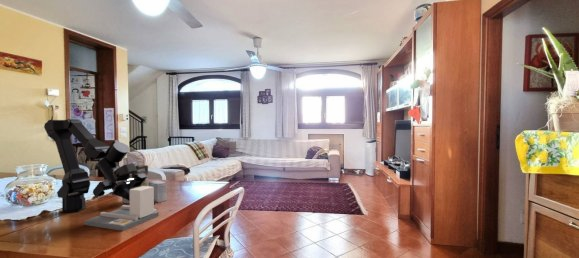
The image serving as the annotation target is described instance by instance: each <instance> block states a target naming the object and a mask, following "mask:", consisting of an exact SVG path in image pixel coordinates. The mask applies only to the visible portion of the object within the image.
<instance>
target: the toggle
mask: <svg viewBox="0 0 579 258" xmlns="http://www.w3.org/2000/svg"><path fill="white" fill-rule="evenodd" d="M154 202H155V201H154V187H150V186H149V185H148V186H141V187H137V188H134V189H130V203H129V206H130V216H137V217H138V218H142V217H145V216H147V215H150V214H152V213H154V209H155V203H154Z"/></svg>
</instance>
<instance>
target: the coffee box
mask: <svg viewBox="0 0 579 258" xmlns="http://www.w3.org/2000/svg"><path fill="white" fill-rule="evenodd" d="M138 166H139V169H138V170H137V171H136V172H133V173H131V176H130V177H129V178H128V179H132V178H133V177H134V175H136V174H141V173H144V174H145V175H146V176H147V178H146V179H145V181H144V182H143V183H142V184H141V185H140V186H138V187H141V186H149V165H146V164H143V165H141V164H140V165H139V164H138ZM135 188H137V187H135ZM121 202H122V203H125V204H130V201H129V200H127V199H125V198H122V197H121Z"/></svg>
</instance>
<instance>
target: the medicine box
mask: <svg viewBox="0 0 579 258" xmlns="http://www.w3.org/2000/svg"><path fill="white" fill-rule="evenodd" d="M148 186H150V187H154V202H155V203H162V202H165V201H167V182H166V181H161V180H153V181H148Z"/></svg>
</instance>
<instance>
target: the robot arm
mask: <svg viewBox="0 0 579 258" xmlns="http://www.w3.org/2000/svg"><path fill="white" fill-rule="evenodd" d="M43 127H44V130H45V132H46V135H47V136H48V137H49V138H50V140H51V139H52V140H53V142H55V145H56V148H57V152H58V155H59V159H60V161H61V165H62V169H63V171H64V175H63V177H62V179H61V186H60V188H59V189H58V191H57V192H56V194H57V198H60V199H62V200H61V202H62V203H61V204H62V205H61V208H62V210H60V211H59V214H61V213H63V214H64V213H77V212H81V210H83V209H86V208H87V205H86V197H85V194H88V193H89V190H90V186H91V179H90V177H89V173H88V172H87V171H83V170H81V168H80V166H79V162H78V158H77V154H76V152H75V148H74V146H73V143H72V139H71V137H72V136H74V138H76V140H77V141H78V142H79V143H80V144H81V145H82V146H83V148H84V149H83V153H84V155H85V157H86V158H87V159H88V160H89V161H98V162H96V163H95V166H94V170H95V171H97V170H100V171H101V172H102V174H103V175H104V177H103V180H102V181H99V182H98V184H97V185H95V188H94V189H93V190H92V195H93V196H94V197H95V198H99V197H103V196H105V193H106V192H105V191H108V190H109V191H110V190H112V192H111V196H116V197H117V196H118V197H119V198H121V199H122V198H125V199H127V200H129V201H130V189H134V188H135V187H138V186H140V185H141V184H142V183H143V182H144V181H145V179H146V178H147V176H146V175H145V174H144V173H141V174H136V175H134V177H133V178H132V179H128V178H129V177H130V176H131V173H133V172H136V171H137V170H138V169H139V166H138V165H139V164H138V163H137V162H136V161H133V162H131V163H128V164H124V165H122V166H120V165H119V163H120V162H122V161H123V160H124V158H125V157H126V156H127V154H128V153H129V152H130V147H129V146H128V144H126V143H124V142H120V140H117V139H116V140H113V141H112V142H111V144H110V145H109V144H107V143H106V142H104V141H101V140H99V139H97V138H96V137H95V136H94V135H93V134H92V132H90V130H89V129H87V128H86V127H85V125H84V124H83V122H82V120H80V119H75V118H67V119H49V120H47V121H46V122H45V123H44V126H43Z"/></svg>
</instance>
